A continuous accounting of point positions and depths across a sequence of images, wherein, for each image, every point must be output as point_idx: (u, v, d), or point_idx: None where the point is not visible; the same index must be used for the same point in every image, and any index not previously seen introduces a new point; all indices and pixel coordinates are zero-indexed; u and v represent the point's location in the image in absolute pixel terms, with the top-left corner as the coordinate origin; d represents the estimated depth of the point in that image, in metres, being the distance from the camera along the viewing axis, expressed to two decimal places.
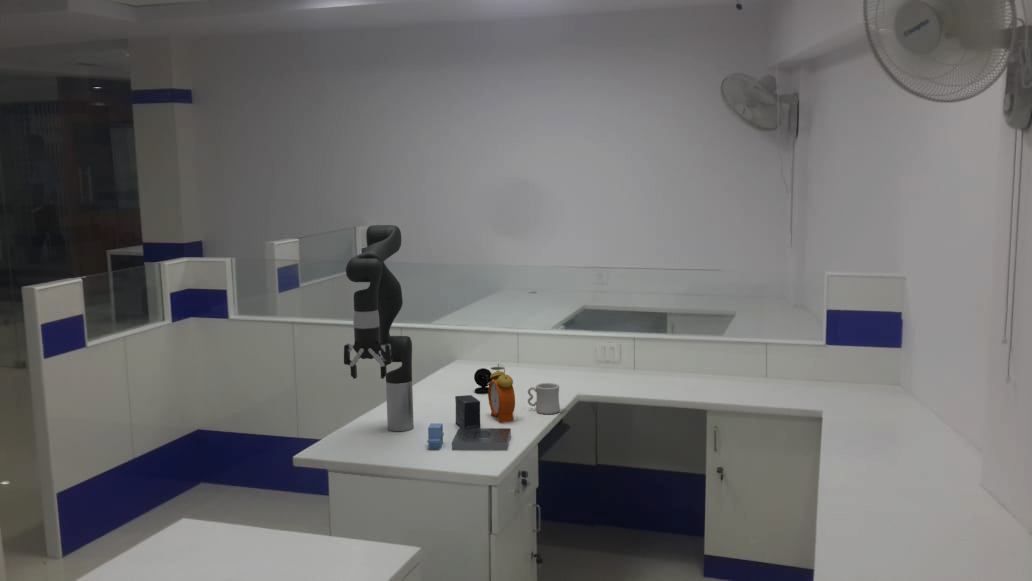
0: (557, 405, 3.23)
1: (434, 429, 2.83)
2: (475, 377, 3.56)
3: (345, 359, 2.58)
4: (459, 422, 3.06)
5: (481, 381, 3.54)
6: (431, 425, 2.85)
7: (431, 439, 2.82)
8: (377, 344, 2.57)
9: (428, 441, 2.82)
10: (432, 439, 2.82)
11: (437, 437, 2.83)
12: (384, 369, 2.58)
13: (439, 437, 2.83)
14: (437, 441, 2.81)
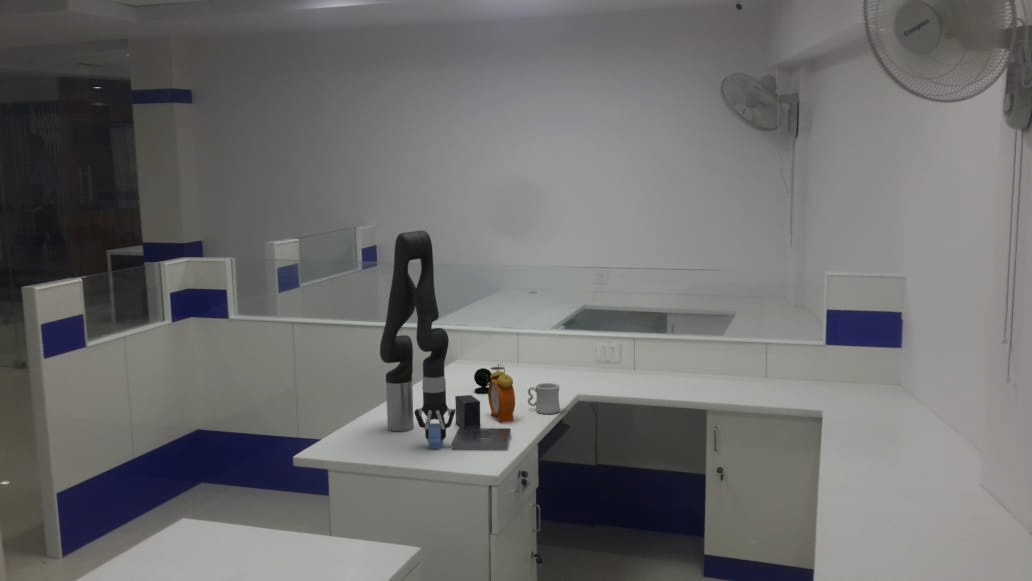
0: (557, 405, 3.23)
1: (434, 429, 2.83)
2: (475, 377, 3.56)
3: (419, 423, 2.84)
4: (459, 422, 3.06)
5: (481, 381, 3.54)
6: (431, 425, 2.85)
7: (431, 439, 2.82)
8: (445, 407, 2.83)
9: (428, 441, 2.82)
10: (432, 439, 2.82)
11: (437, 437, 2.83)
12: (444, 431, 2.85)
13: (439, 437, 2.83)
14: (437, 441, 2.81)
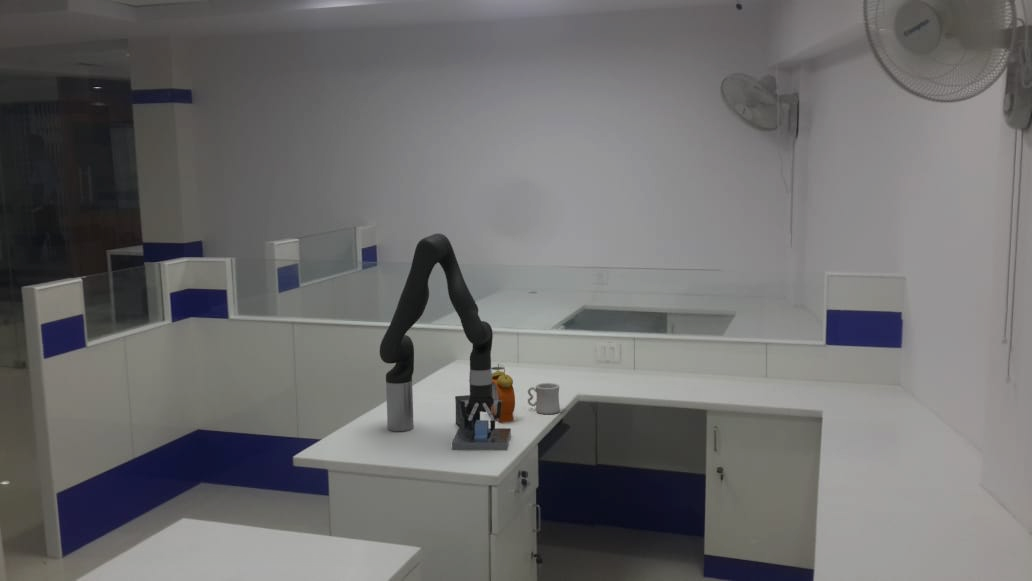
0: (557, 405, 3.23)
1: (481, 426, 2.86)
2: None
3: (463, 414, 2.87)
4: (459, 422, 3.06)
5: None
6: (477, 422, 2.88)
7: (478, 436, 2.85)
8: (491, 399, 2.86)
9: (475, 438, 2.84)
10: (479, 436, 2.85)
11: (484, 434, 2.86)
12: (493, 423, 2.87)
13: (486, 434, 2.86)
14: (484, 438, 2.84)
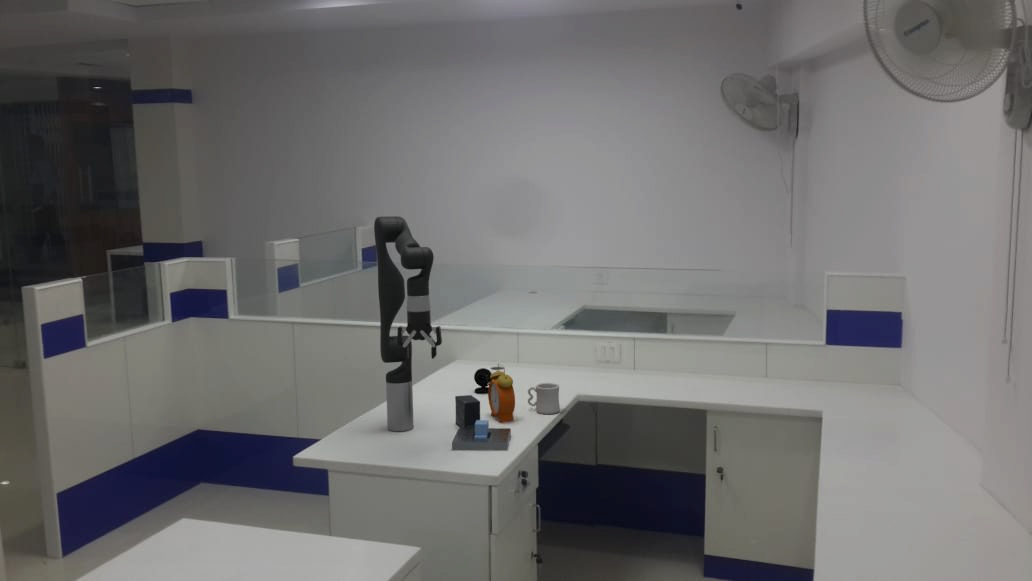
0: (557, 405, 3.23)
1: (481, 426, 2.86)
2: (475, 377, 3.56)
3: (398, 340, 2.79)
4: (459, 422, 3.06)
5: (481, 381, 3.54)
6: (477, 422, 2.88)
7: (478, 436, 2.85)
8: (428, 326, 2.78)
9: (475, 438, 2.84)
10: (479, 436, 2.85)
11: (484, 434, 2.86)
12: (434, 350, 2.79)
13: (486, 434, 2.86)
14: (484, 438, 2.84)
